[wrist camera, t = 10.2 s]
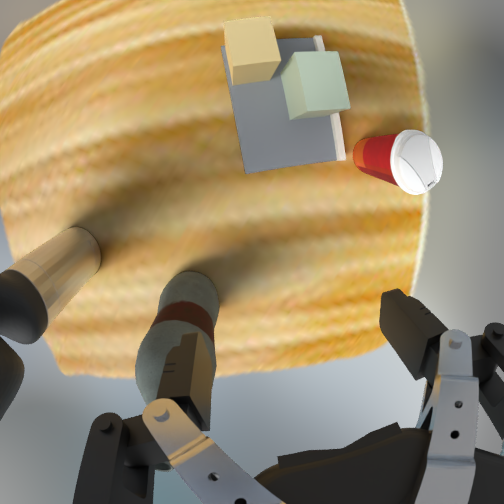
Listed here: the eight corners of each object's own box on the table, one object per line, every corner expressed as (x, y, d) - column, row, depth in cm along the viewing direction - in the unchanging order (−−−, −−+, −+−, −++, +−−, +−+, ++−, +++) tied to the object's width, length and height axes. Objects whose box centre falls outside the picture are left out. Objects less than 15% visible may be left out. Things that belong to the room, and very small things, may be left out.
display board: (245, 172, 38) (246, 174, 35) (221, 50, 31) (220, 43, 28) (338, 159, 38) (346, 160, 35) (315, 42, 31) (321, 35, 28)
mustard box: (232, 85, 31) (233, 66, 23) (225, 48, 29) (223, 21, 21) (271, 80, 31) (283, 60, 23) (263, 43, 29) (271, 16, 21)
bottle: (156, 275, 42) (83, 436, 14) (209, 260, 42) (184, 438, 14) (177, 321, 46) (142, 482, 18) (227, 310, 46) (229, 482, 18)
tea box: (289, 120, 34) (307, 111, 25) (280, 73, 31) (294, 52, 23) (325, 116, 34) (352, 108, 25) (316, 70, 31) (339, 51, 23)
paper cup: (395, 164, 38) (452, 176, 25) (361, 189, 40) (413, 209, 27) (373, 122, 36) (429, 117, 23) (336, 146, 37) (384, 147, 24)
